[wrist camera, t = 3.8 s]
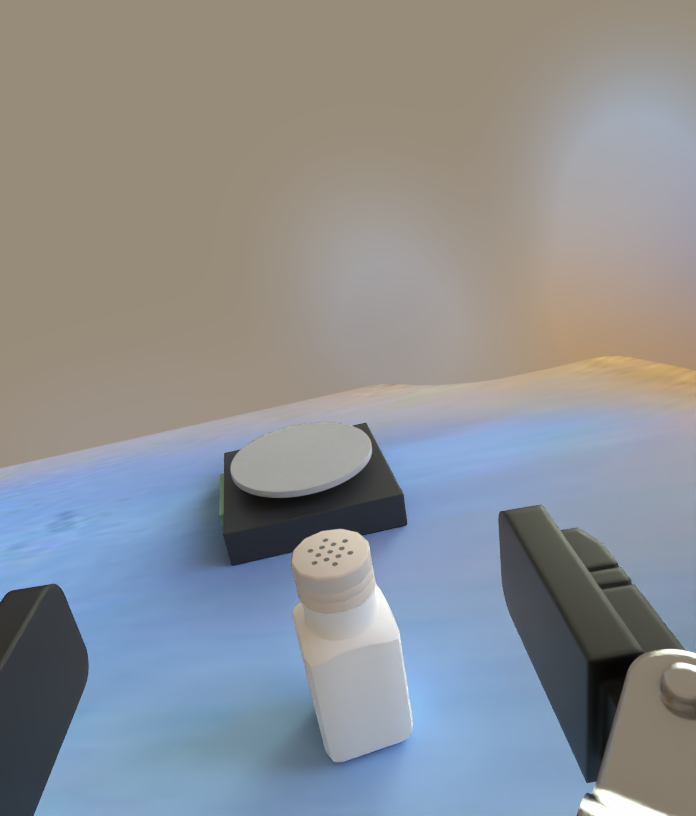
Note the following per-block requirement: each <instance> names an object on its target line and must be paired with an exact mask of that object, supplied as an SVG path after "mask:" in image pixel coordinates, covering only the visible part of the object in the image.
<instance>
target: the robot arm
mask: <svg viewBox="0 0 696 816" xmlns="http://www.w3.org/2000/svg"><path fill="white" fill-rule="evenodd" d="M499 540H500V558H501V576H502V586H503V592H504V596H505V601H506V604H507V607H508V610H509V613H510V616H511V618H512V620H513V622H514V625H515V627H516V629H517V631H518V633H519V635H520V638H521V640H522V642H523V644H524V646H525V649H526V651H527V653H528V655H529V657H530V660H531V662H532V664H533V666H534V668H535V671H536V673H537V675H538V677H539V679H540V681H541V684H542V686H543V688H544V690H545V692H546V695H547V697H548V699H549V701H550V703H551V706H552V708H553V710H554V712H555V714H556V717H557V719H558V721H559V723H560V725H561V727H562V730H563V732H564V734H565V736H566V738H567V741H568V743H569V745H570V747H571V749H572V752H573V754H574V756H575V758H576V760H577V763H578V765H579V767H580V769H581V771H582V774H583V776H584V778H585V780H586V782H587V783H590V782H596V785H595V788H594V791H593V793H592V795H591V794H589V793H586V794H585V796H584V798H583V800H582V802H581V804H580V807H579V810H578V813H577V816H696V653H693V652H688V651H686V650H685V649H684V648H683V646H682V645H681V644H680V642H679V641H678V640H677V639H676V637H675V636H674V635H673V633H672V632H671V631H670V630H669V628H668V627H667V626H666V624H665V623H664V622H663V621H662V619H661V618H660V617H659V615H658V614H657V613H656V612H655V610H654V609H653V608H652V606H651V605H650V604H649V603H648V601H647V600H646V599H645V597H644V596H643V595H642V593H641V592H640V591H639V590H638V588H637V587H636V586H635V584H634V585H632V583H631V579H630V578H629V577H628V575H627V574H626V573H625V572H624V570H623V569H622V568H621V567H619V566H618V563H617V561H616V560H615V559H614V557H613V556H612V555H611V554H610V552H609V551H608V550H607V548H606V547H605V546H604V545H603V543H602V542H600V541H598V540H597V539H595V538H593V537H592V536H590V535H589V534H587V533H585V532H584V531H582V530H580V529H579V528H572V529H566V530H560V529H559V528H558V526H557V525H556V523H555V522H554V520H553V519H552V518H551V516H550V515H549V513H548V512H547V510H546V509H545V508H544V507H543V506H542V505H536V506H530V507H524V508H518V509H512V510H506V511H501V512H500V513H499ZM87 677H88V654H87V650H86V647H85V644H84V642H83V639H82V637H81V634H80V632H79V629H78V627H77V624H76V622H75V620H74V617H73V615H72V612H71V610H70V607H69V605H68V602H67V600H66V597H65V595H64V593H63V591H62V589H61V588H60V587H59V586H58V585H56V584H49V585H43V586H37V587H31V588H25V589H19V590H13V591H10V592H8V593H7V594H6V595H5V596H4V598H3V599H2V601H1V602H0V816H34V813H35V811H36V808H37V806H38V803H39V801H40V798H41V796H42V793H43V791H44V788H45V786H46V783H47V781H48V778H49V775H50V773H51V770H52V768H53V765H54V763H55V760H56V758H57V755H58V753H59V750H60V748H61V745H62V743H63V740H64V738H65V735H66V733H67V730H68V728H69V725H70V723H71V720H72V718H73V715H74V713H75V710H76V708H77V705H78V703H79V700H80V698H81V695H82V693H83V690H84V688H85V685H86V682H87Z"/></svg>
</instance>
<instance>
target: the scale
mask: <svg viewBox="0 0 696 816" xmlns="http://www.w3.org/2000/svg"><path fill="white" fill-rule="evenodd" d="M219 518H220V521H221V525H222V529H223V536H224V539H225V543H226V546H227V550H228V554H229V557H230V561H231V564H232V565H236V564H241V563H245V562H249V561H253V560H258V559H262V558H266V557H271V556H275V555H279V554H283V553H288V552H292V551H293V550H294V549H295V548H296V547H297V546H298V545H299V544H300V543H301V542H302V541H303V540H304V539H305V538H308V537H310V536H312V535H314V534H317V533H319V532H321V531H327V530H335V529H344V530H349V531H353V532H358V533H359V534H360V535H365V534H369V533H373V532H377V531H382V530H386V529H390V528H395V527H399V526H403V525H407V518H406V510H405V503H404V495H403V492H402V490H401V488H400V487H399V485H398V483H397V481H396V479H395V477H394V475H393V473H392V471H391V469H390V467H389V465H388V463H387V462H386V460H385V458H384V456H383V454H382V452H381V450H380V448H379V446H378V444H377V442H376V440H375V438H374V437H373V435H372V433H371V431H370V429H369V427H368V425H367V423H363V424H358V425H353V426H351V425H347V424H342V423H335V422H313V423H304V424H298V425H293V426H289V427H285V428H282V429H278V430H275V431H273V432H270V433H267V434H265V435H263V436H261V437H259V438H257V439H255V440H253V441H252V442H250V443H249V444H247V445H246V446H244V447H243V448H242V449H241V450H237V451H232V452H227V453H225V454H224V474H221V475H220V493H219Z"/></svg>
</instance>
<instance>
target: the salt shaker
mask: <svg viewBox="0 0 696 816" xmlns="http://www.w3.org/2000/svg"><path fill="white" fill-rule="evenodd" d="M291 566H292V570H293V575H294V578H295V584H296V587H297V592H298V597H299V600H300V602H299V603H298V604H297V605H296V606H295V608H294V609H293V611H292V615H293V620H294V624H295V628H296V632H297V637H298V641H299V645H300V649H301V653H302V658H303V662H304V666H305V670H306V675H307V679H308V683H309V687H310V691H311V696H312V700H313V704H314V708H315V712H316V716H317V720H318V724H319V728H320V732H321V736H322V740H323V744H324V748H325V752H326V753H327V754H328V755H329V756H330V757H331V759H332V760H333V761H334V762H345V761H347V760H350V759H353V758H356V757H359V756H362V755H365V754H368V753H371V752H374V751H376V750H379V749H382V748H385V747H388V746H391V745H394V744H397V743H400V742H403V741H405V740H406V739H407V738H409V737H410V736H411V734H412V729H413V720H412V713H411V706H410V699H409V693H408V686H407V679H406V673H405V666H404V659H403V653H402V646H401V639H400V632H399V629H398V626H397V624H396V622H395V619H394V617H393V614H392V612H391V610H390V608H389V605H388V603H387V601H386V599H385V597H384V595H383V594H382V592H381V590H380V588H379V587H378V586H376V581H375V577H374V571H373V567H372V559H371V553H370V547H369V542H368V541H367V540H366V539H364V538H363V537H362V536H361V535H360V534H359V533H358V532H353V531H349V530H344V529H335V530H327V531H321V532H319V533H317V534H314V535H312V536H310V537H308V538H305V539H304V540H303V541H302V542H301V543H300V544H299V545H298V546H297V547H296V548H295V549H294V550H293V555H292V562H291Z"/></svg>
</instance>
